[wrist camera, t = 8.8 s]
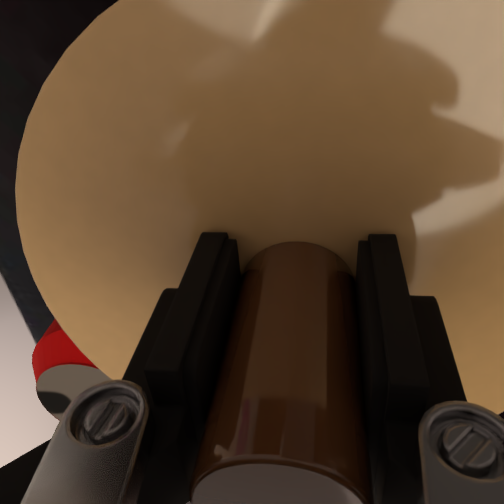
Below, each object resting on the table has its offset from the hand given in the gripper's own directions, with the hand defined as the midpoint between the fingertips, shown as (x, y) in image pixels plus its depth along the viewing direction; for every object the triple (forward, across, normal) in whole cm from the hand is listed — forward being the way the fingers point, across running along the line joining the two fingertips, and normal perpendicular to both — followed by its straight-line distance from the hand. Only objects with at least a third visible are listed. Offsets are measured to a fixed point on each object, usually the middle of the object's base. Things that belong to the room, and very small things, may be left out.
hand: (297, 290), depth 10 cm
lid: (+1, 0, 0) cm, 1 cm away
